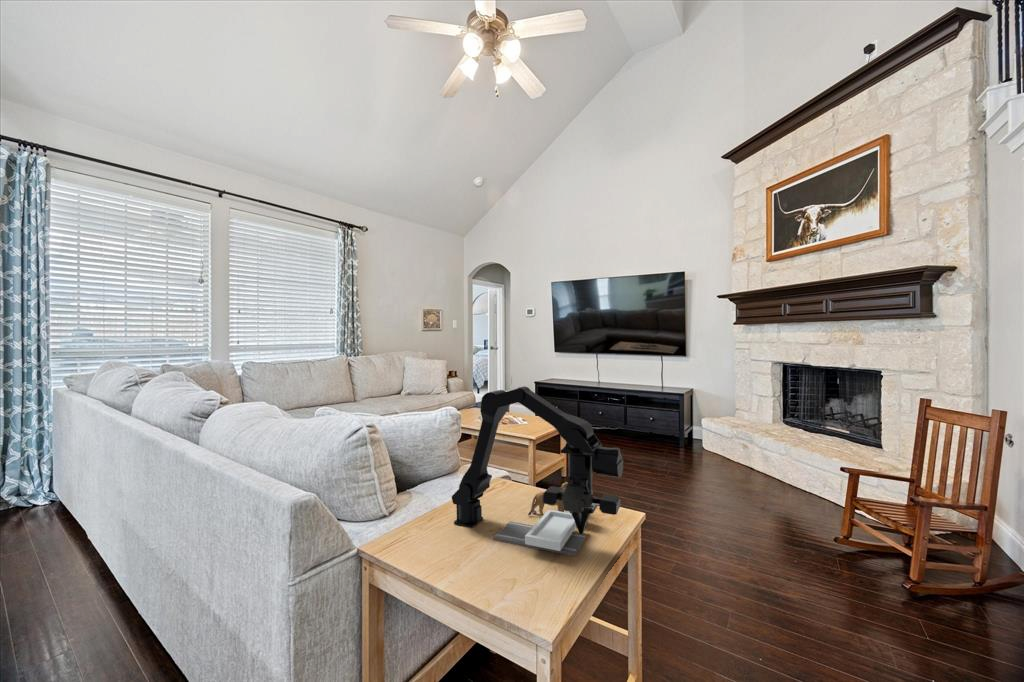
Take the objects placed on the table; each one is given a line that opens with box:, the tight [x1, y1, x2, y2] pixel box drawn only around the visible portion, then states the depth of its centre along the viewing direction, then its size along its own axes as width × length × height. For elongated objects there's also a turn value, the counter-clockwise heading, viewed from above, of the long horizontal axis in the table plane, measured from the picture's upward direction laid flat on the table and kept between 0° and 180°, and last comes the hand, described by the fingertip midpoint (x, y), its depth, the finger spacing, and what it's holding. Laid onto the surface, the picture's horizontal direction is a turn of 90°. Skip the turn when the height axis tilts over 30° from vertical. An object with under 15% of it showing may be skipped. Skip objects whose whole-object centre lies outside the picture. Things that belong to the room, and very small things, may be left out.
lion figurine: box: [527, 481, 567, 517], centre depth 123 cm, size 15×5×9 cm, turn 103°
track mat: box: [493, 521, 587, 557], centre depth 108 cm, size 22×10×1 cm, turn 65°
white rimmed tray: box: [525, 509, 577, 551], centre depth 106 cm, size 9×17×4 cm, turn 155°
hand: (581, 533), depth 103 cm, fingers closed
